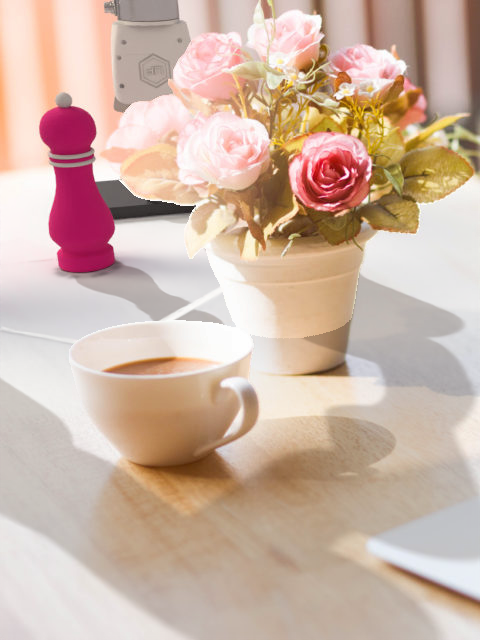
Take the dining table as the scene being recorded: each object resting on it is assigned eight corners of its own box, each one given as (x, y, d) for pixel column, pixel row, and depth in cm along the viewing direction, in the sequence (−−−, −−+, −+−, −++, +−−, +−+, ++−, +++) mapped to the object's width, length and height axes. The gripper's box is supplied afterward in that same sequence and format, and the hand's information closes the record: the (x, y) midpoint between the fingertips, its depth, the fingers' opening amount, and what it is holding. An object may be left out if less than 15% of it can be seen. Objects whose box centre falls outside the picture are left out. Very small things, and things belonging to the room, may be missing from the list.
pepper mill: (40, 269, 136) (12, 96, 128) (83, 250, 142) (59, 84, 134) (91, 277, 133) (66, 101, 126) (132, 258, 140) (110, 89, 132)
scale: (68, 225, 151) (64, 198, 150) (67, 195, 164) (64, 171, 163) (196, 213, 156) (193, 187, 155) (186, 185, 169) (183, 161, 168)
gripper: (85, 15, 142) (102, 164, 149) (212, 12, 147) (223, 157, 154) (84, 8, 149) (101, 152, 156) (205, 6, 154) (216, 145, 160)
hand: (161, 154), depth 155 cm, fingers closed
